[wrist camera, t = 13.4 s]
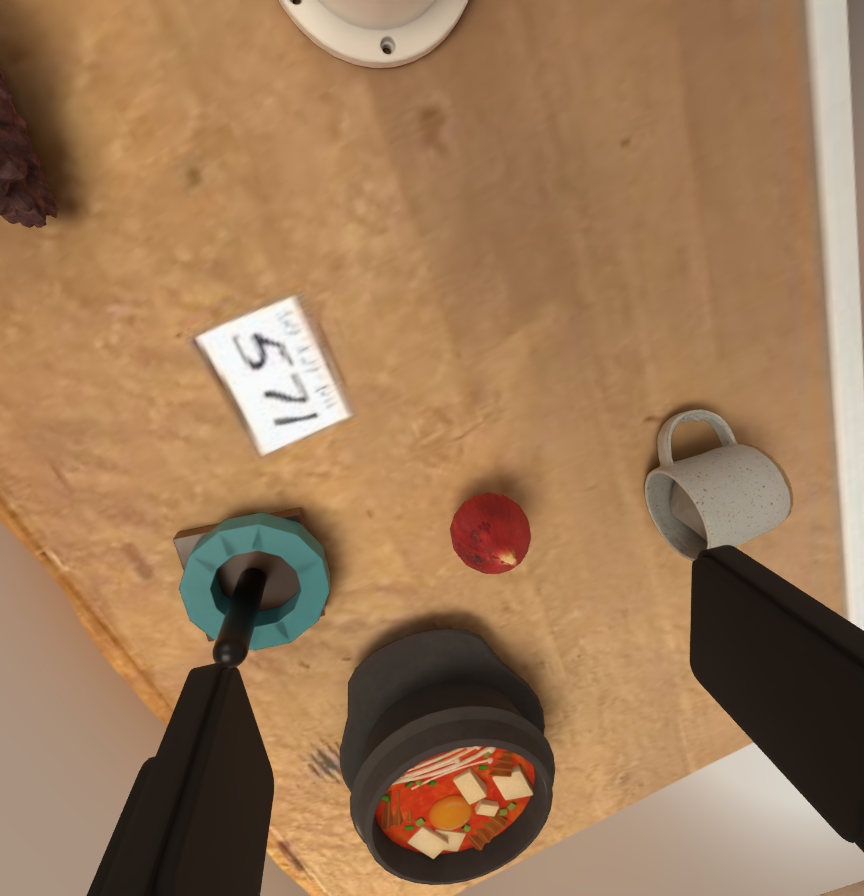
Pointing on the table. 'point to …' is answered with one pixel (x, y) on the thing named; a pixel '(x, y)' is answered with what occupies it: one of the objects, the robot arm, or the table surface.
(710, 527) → the ceramic mug
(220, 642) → the stand
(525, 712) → the casserole
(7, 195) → the pine cone
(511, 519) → the onion
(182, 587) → the ring
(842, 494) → the table surface
